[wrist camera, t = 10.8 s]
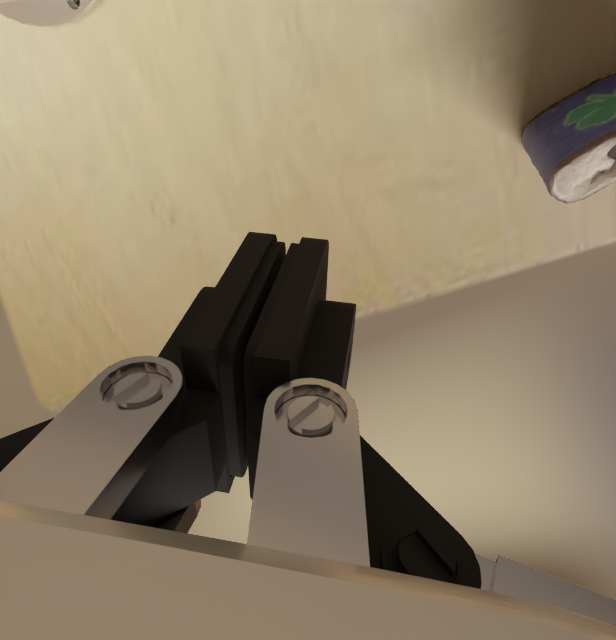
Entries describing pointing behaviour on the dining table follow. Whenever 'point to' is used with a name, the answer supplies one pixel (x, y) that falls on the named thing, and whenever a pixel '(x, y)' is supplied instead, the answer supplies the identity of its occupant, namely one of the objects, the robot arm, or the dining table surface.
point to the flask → (576, 141)
